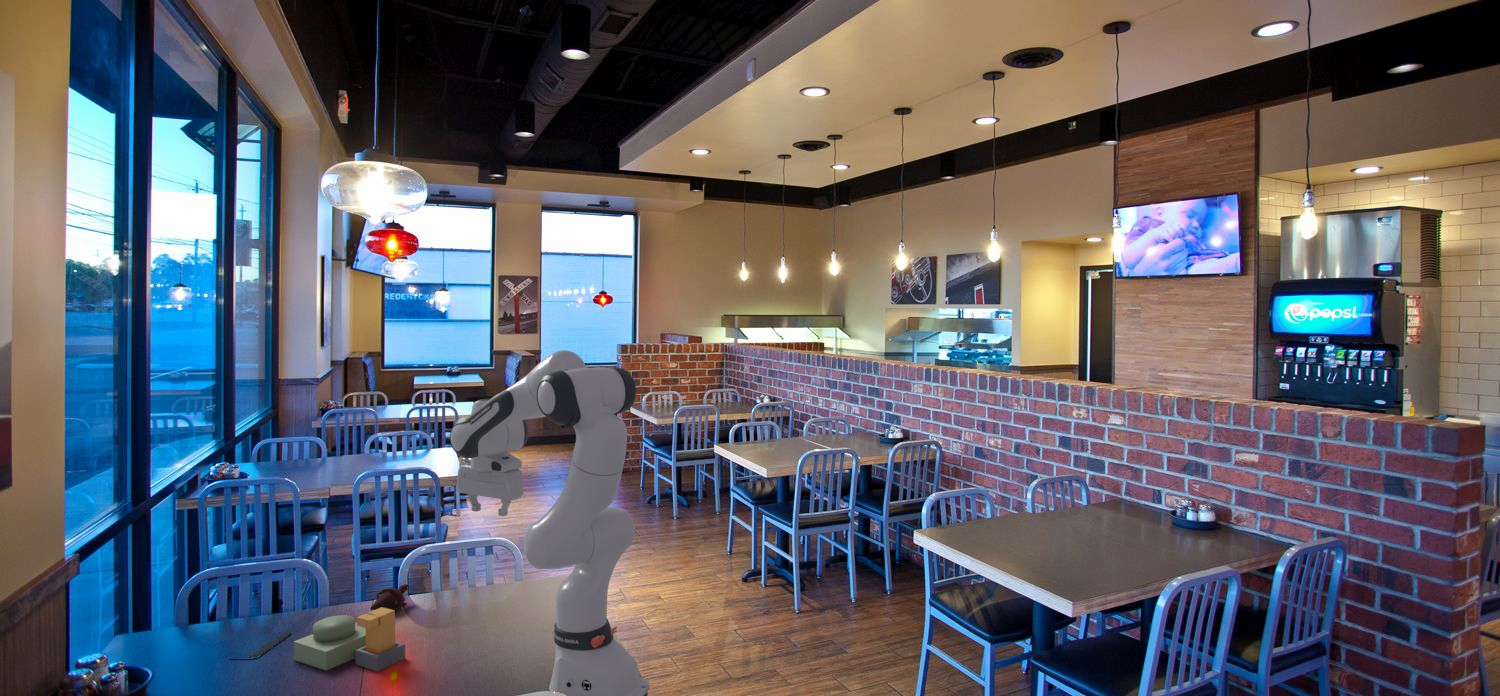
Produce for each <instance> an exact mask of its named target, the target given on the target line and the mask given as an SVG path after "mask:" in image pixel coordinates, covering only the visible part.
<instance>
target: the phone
mask: <svg viewBox="0 0 1500 696" xmlns="http://www.w3.org/2000/svg"><path fill="white" fill-rule="evenodd" d="M284 632H285V634H282V635H281V636H280V637H278V639H277V640H276V641H272V642H268V644H267V643H266V645H264V646H263V647H262V649H261V648H260V649H261V650H260V651H258V653H257V652H254V653H257V654H254V653H253V655H252V656H250V655H248V656H249V658H251V657H257V656H259V655H261V654H262V653H264V652H265V651H267V650H268V649H270V648H271V647H272V646H274V645H275V644H277V643H278V642H280V641H281V640H283V639H284V638H285V637H287V636H289V635H290V634H291V635H292V631H284ZM291 635H290V636H291ZM290 636H289V637H290ZM287 638H288V637H287ZM284 640H285V639H284ZM284 640H283V641H284ZM280 643H281V642H280ZM277 645H278V644H277ZM249 654H251V653H249ZM245 656H247V655H245ZM228 657H229V655H228V656H227V658H228ZM232 657H233V656H232Z"/></svg>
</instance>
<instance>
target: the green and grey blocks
mask: <svg viewBox="0 0 1500 696" xmlns="http://www.w3.org/2000/svg"><path fill="white" fill-rule="evenodd" d="M312 632H313V634H310V635H309V634H308V635H307V636H305V637H302V638H299V639H296V640H294V641H293V660H294V661H296V662H299V663H302V664H306V665H307V666H311V667H314V668H317V669H320V670H323V671H326V672H327V671H329V670H332V669H334V668H336V667H338V666H341V665H343V664H345V663H348V662H349V661H352V660H355V665H357V666H359V667H362V668H366V669H368V670H371V671H374V672H380V671H381V670H383V669H386V668H388V667H390V666H392V665H394V664H396V663H399V662H401V661H404V660H405V659H406V644H405V643H403V642H400V641H396V640H395V647H394V648H392V649H389V650H387V651H385V652H383V653H380V654H378V655H377V654H374V653H371V652H368V651H366V629H365V628H364V627H360V626H357V622H356V618H355V616H352V615H347V614H343V615H341V614H340V615H333V616H332V615H331V616H328V617H324V618H322V619H320V620H317V621H316V622H314V624H313V625H312Z"/></svg>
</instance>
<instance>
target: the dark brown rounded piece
mask: <svg viewBox="0 0 1500 696" xmlns="http://www.w3.org/2000/svg"><path fill="white" fill-rule="evenodd" d="M407 587H408V588H407ZM409 588H410V587H409V584H407V583H405V584H402V585H400V586H399V587H398V588H394V587H390V588H383V589H381V591H379V592H378V593H377V594H376V598H375V601H374V603H373V604H372V605H371V607H370V608H369V609H370V610H371V611H373V610H376V609H378V608H381V607H383V608H387V609H391V610H395V612H396V611H397V610H398V609H400V608H401V606H402V604H403V603H405V601H406V597H405V596H404V595H403V594H405V593H406V592H407V591H408V590H409Z"/></svg>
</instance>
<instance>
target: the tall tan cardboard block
mask: <svg viewBox="0 0 1500 696" xmlns="http://www.w3.org/2000/svg"><path fill="white" fill-rule="evenodd" d="M395 612H396V611H395V610H391V609H387V608H383V607H381V608H378V609H376V610H371V611H368V612H367V613H364V614H361V615H359V616H357V617H356V623H357V626H360V627H364V628H365V629H366V651H368V652H371V653H374V654H377V655H378V654H380V653H383V652H385V651H387V650H389V649H392V648H394V647H395V641H396V613H395Z"/></svg>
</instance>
